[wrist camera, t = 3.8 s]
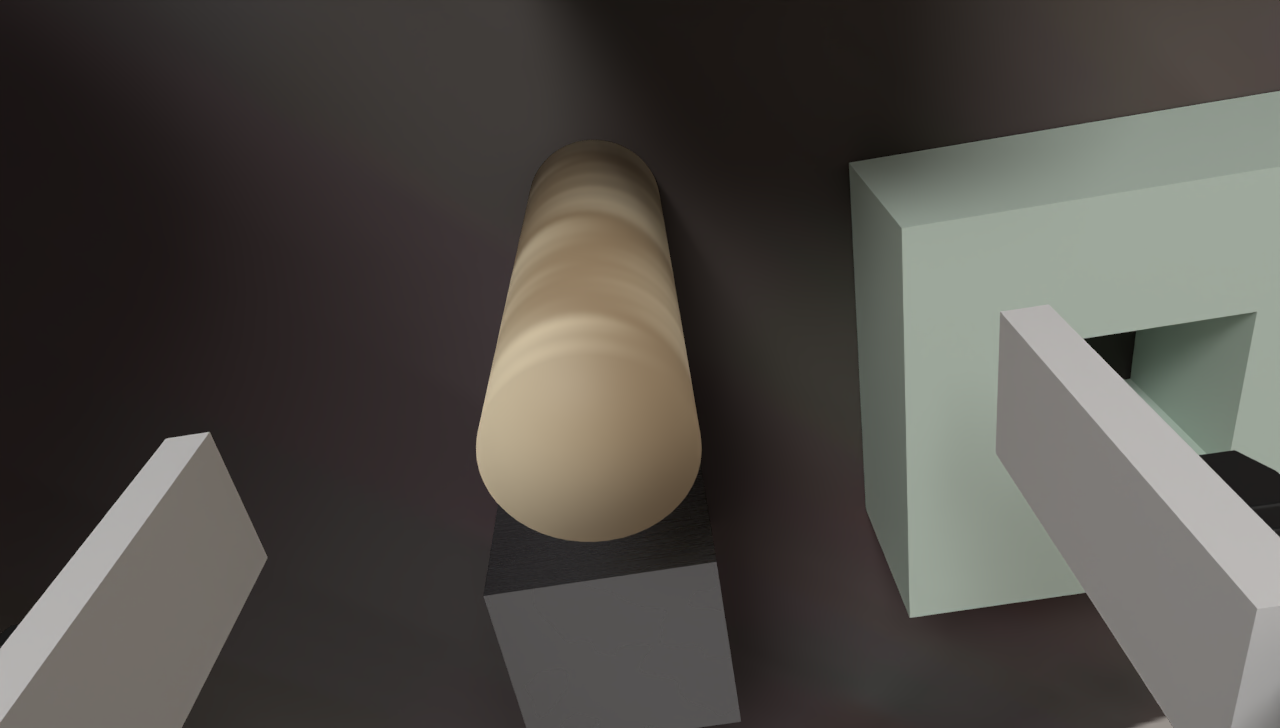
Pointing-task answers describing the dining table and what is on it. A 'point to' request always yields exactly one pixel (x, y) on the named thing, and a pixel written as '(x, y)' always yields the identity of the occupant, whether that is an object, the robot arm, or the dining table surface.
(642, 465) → the birch dowel
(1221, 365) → the socket block
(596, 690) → the dark grey block
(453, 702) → the dining table surface
